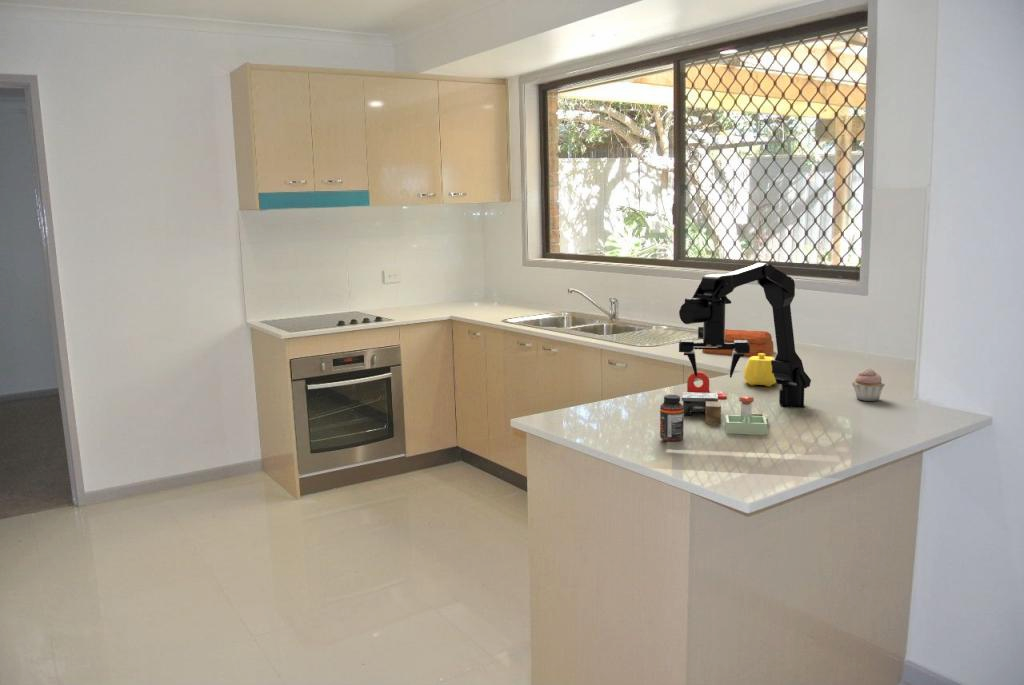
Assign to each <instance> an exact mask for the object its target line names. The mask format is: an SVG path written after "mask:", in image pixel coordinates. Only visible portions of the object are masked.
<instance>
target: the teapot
mask: <svg viewBox="0 0 1024 685" xmlns="http://www.w3.org/2000/svg"><path fill="white" fill-rule="evenodd" d="M765 355H766V354H764V353H759V354H758V356H752V357H748V360H747V363H746V364H745V367H744V368H745V369H744V371H743V379H744V380H745V382H746V384H749V386H754V385H755V386H756V385H757V386H759V385H760V386H764V387H767V388H768V387H772V385H775V384H776V380H775V377H774V374H773V373H772V365H771V361H772V360H775V358H774V356H769V357H768V356H765Z"/></svg>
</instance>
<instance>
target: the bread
mask: <svg viewBox="0 0 1024 685" xmlns="http://www.w3.org/2000/svg"><path fill="white" fill-rule="evenodd" d="M734 340H747V341H748V342H749V344H750V353H744V354H745V356H744V357H748V358H750V357H752V356H758V354H759V353H764V354H766V355H765V356H768V357H772V356H773V355H774V353H775V351H774V350H775V349H774V342H773V337H772V334H771V333H770V332H769V331H766V330H764V331H763V330H745V329H726V328H725V343H734ZM706 346H710V345H706ZM718 347H722V346H718ZM733 351H734V350H714V349H701V353H702V354H703V353H704V354H709V355H710V354H713V355H724V356H725V355H726V356H732V353H733Z"/></svg>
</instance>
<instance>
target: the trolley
mask: <svg viewBox="0 0 1024 685" xmlns="http://www.w3.org/2000/svg"><path fill="white" fill-rule="evenodd" d="M717 393H718V392H711V393H694V392H687V391H686V392H685V391H684V392H683V391H682V394H681V401H682V402H683V403H682V405H683V407H684V416H691V412H690V411H692V412H693V413H694V412H695V413H706V401H712V402H719V399H718V394H717Z"/></svg>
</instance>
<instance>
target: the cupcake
mask: <svg viewBox="0 0 1024 685" xmlns="http://www.w3.org/2000/svg"><path fill="white" fill-rule="evenodd" d="M854 380H855V381H852V382H851V386H852V387H853V389H854V391H855V396H856V399H858V400H860V401H863V402H864V401H865V402H876V401H879V400H880V397H881V394H882V390H883V389H884V387H885V385H886V384H885V383H883V382H882V376H881V375H880V373H878V372H876V371H875V370H874V368H872V367H870V366H867V367H866V368H865V369H864V370H861V371H860V372H858V374H857V376H855V378H854Z"/></svg>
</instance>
